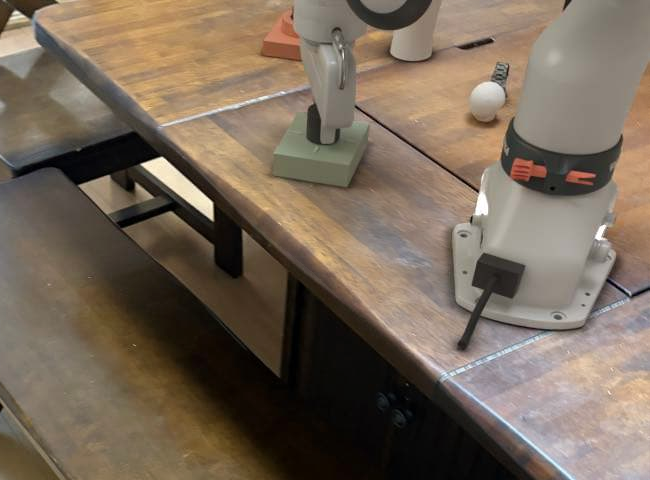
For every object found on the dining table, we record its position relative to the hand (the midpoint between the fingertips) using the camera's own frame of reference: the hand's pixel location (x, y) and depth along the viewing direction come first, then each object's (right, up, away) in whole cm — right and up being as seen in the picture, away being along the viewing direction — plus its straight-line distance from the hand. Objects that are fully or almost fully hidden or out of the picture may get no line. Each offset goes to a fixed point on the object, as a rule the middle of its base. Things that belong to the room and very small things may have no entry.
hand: (323, 130), depth 113 cm
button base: (-1, +26, +26) cm, 37 cm away
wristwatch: (+27, +11, +14) cm, 32 cm away
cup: (+16, +24, +25) cm, 38 cm away
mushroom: (+24, +6, +10) cm, 27 cm away
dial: (0, -1, +1) cm, 1 cm away
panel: (0, -2, +3) cm, 4 cm away
